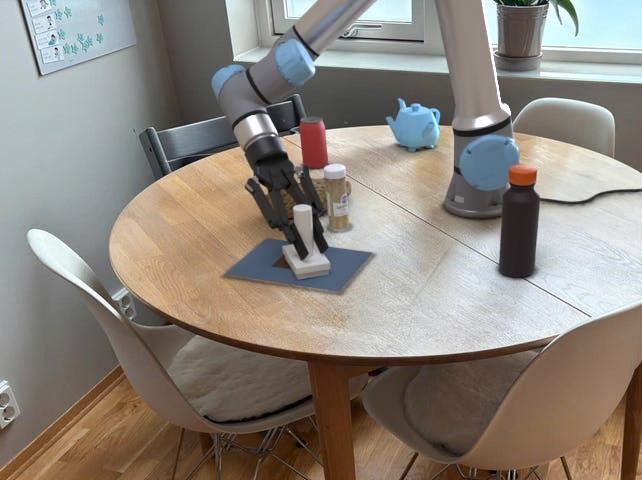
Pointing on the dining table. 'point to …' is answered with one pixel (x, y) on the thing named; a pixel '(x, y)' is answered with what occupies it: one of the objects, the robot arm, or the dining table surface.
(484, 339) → the dining table surface
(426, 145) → the teapot
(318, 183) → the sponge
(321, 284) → the mat
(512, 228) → the vinegar
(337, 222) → the sprinkles bottle
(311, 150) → the beer can
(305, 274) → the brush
